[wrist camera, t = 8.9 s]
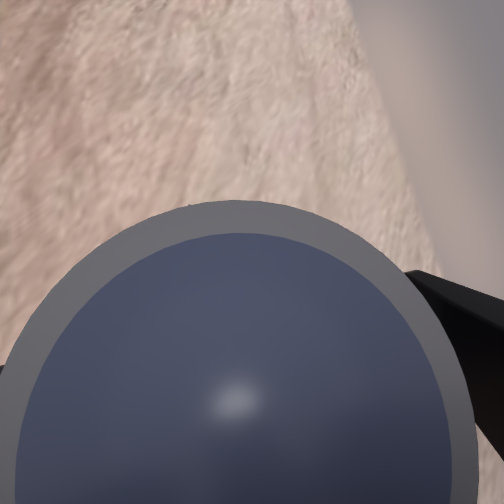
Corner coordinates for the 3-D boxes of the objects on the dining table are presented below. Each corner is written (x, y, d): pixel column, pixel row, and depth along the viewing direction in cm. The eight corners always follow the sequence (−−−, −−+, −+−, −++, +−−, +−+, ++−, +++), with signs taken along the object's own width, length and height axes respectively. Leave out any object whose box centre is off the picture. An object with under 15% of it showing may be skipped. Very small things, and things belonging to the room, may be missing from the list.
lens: (267, 432, 14) (474, 970, 2) (153, 390, 14) (-229, 702, 2) (302, 315, 16) (551, 268, 4) (198, 277, 16) (100, 109, 4)
